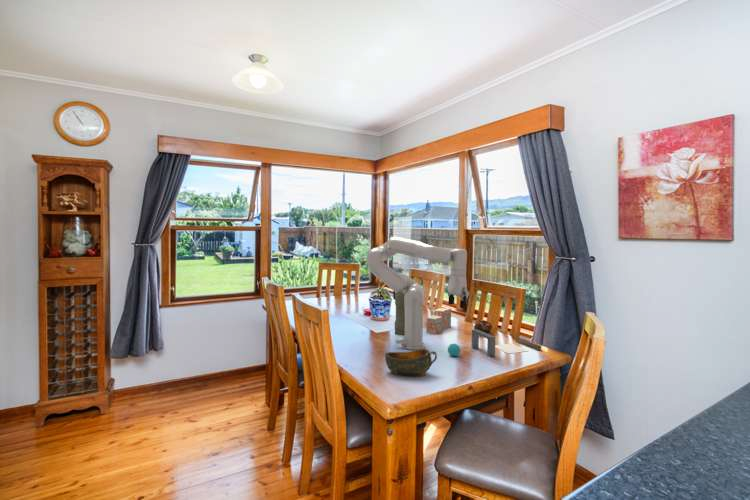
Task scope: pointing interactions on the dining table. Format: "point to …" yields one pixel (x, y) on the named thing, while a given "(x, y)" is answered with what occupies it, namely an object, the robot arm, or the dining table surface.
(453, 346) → the ball
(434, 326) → the stack of blocks
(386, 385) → the dining table surface
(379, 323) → the dining table surface
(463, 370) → the dining table surface
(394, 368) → the cup
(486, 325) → the decorative turtle
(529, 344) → the stopper wall
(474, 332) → the bridge
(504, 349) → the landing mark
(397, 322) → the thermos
